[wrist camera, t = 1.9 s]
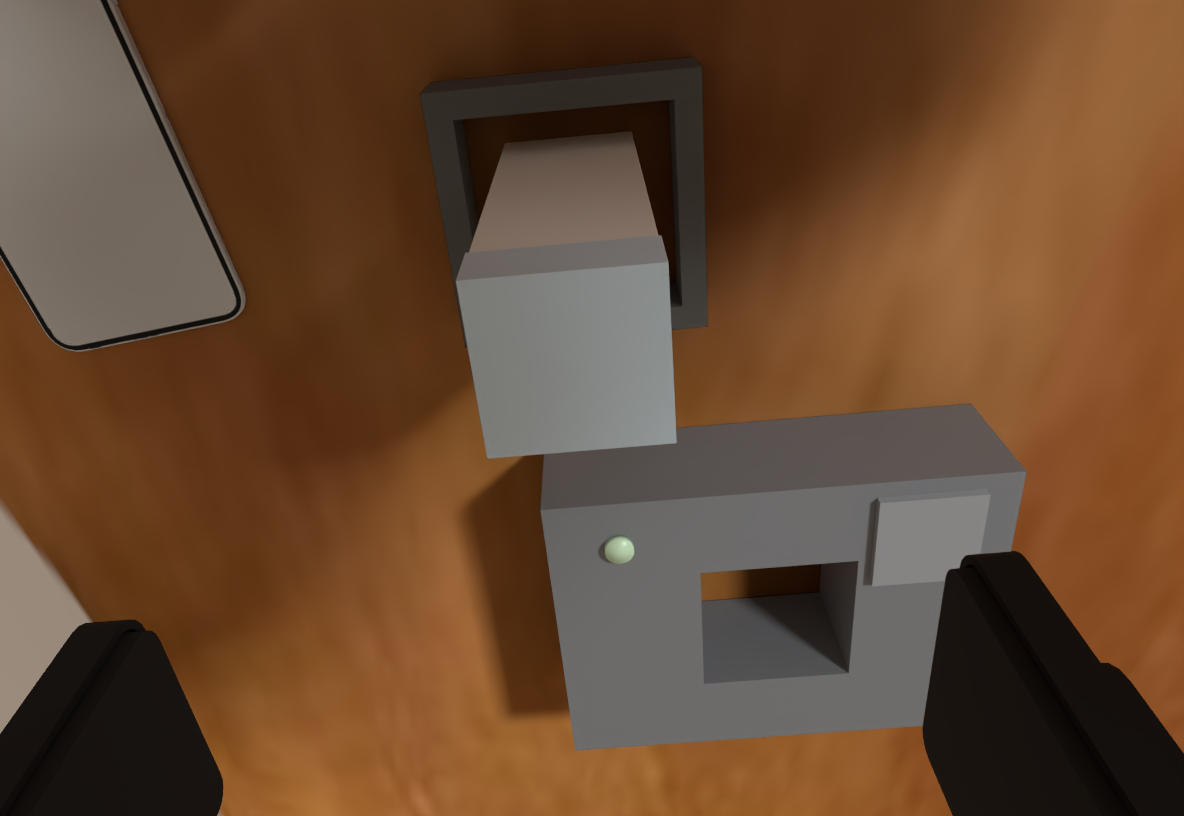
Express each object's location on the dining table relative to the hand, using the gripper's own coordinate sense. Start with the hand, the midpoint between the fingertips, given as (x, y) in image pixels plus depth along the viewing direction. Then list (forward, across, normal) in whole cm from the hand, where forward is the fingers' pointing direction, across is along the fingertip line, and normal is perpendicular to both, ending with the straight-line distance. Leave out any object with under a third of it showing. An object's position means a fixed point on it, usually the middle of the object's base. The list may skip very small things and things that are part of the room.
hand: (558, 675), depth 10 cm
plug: (+20, 0, 0) cm, 20 cm away
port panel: (+20, -6, +15) cm, 26 cm away
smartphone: (+21, +16, -4) cm, 26 cm away
